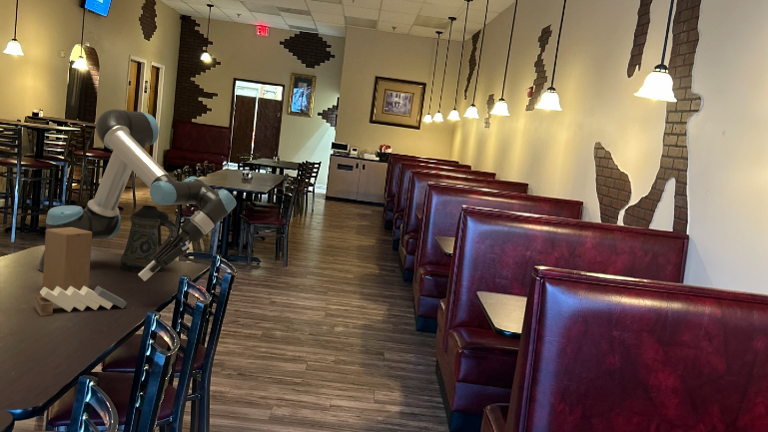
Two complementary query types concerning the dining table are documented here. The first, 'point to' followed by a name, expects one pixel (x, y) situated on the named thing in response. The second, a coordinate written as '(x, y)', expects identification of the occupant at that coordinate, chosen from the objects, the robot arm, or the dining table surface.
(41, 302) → the end block
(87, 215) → the robot arm
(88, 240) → the wooden block
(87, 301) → the domino
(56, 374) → the dining table surface
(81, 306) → the domino
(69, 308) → the domino
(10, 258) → the dining table surface
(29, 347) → the dining table surface
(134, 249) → the beer stein
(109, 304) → the domino
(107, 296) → the domino
